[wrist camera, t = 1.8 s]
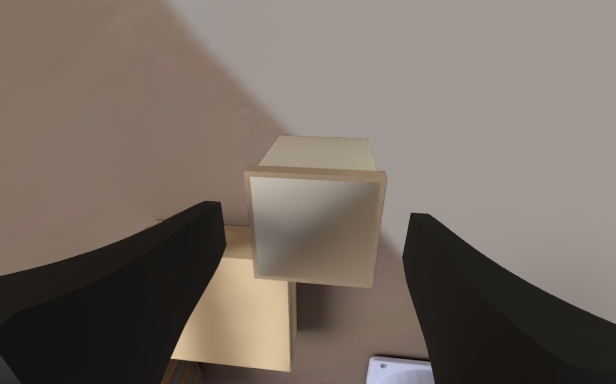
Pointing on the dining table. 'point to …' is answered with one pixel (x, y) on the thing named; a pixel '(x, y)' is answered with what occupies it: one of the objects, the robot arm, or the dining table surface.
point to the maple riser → (241, 314)
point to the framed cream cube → (315, 211)
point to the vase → (182, 372)
